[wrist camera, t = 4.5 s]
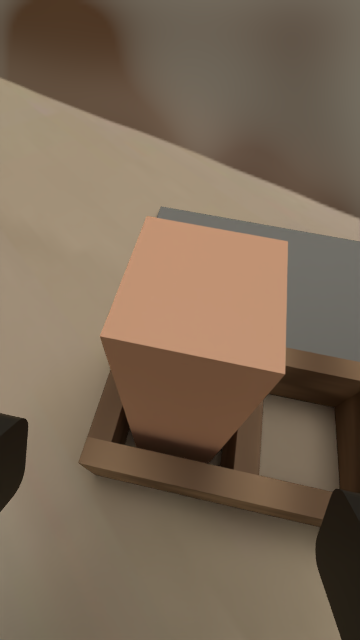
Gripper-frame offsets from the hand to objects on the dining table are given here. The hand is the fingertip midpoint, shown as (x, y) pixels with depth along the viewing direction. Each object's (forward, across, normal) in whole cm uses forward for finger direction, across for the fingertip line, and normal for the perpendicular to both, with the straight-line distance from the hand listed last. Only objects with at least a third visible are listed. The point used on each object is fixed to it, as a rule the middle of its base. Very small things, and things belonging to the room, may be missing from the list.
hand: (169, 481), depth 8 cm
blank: (+12, 0, +5) cm, 13 cm away
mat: (+21, -4, -4) cm, 22 cm away
